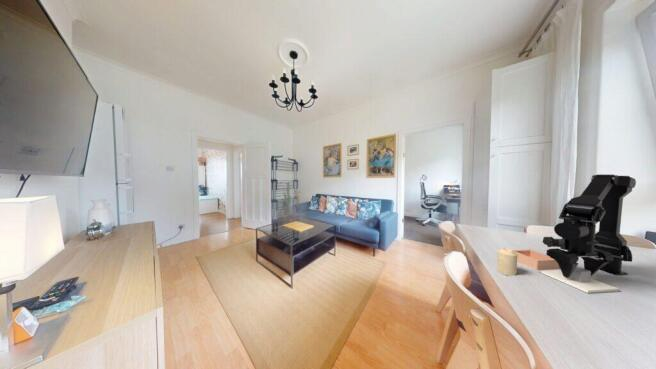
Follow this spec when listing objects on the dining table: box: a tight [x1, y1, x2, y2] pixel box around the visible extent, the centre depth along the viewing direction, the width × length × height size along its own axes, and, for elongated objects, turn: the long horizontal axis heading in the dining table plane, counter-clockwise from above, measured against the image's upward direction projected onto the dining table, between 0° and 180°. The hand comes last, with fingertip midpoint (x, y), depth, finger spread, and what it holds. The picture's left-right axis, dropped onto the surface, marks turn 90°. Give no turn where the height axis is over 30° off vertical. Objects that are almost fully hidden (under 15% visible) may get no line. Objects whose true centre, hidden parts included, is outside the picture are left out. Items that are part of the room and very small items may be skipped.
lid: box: [540, 266, 620, 294], centre depth 65 cm, size 12×12×5 cm
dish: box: [511, 249, 560, 271], centre depth 78 cm, size 10×10×4 cm
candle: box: [496, 247, 518, 277], centre depth 71 cm, size 6×6×10 cm
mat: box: [538, 271, 623, 295], centre depth 65 cm, size 13×13×1 cm
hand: (576, 276), depth 65 cm, fingers open, 9 cm apart
